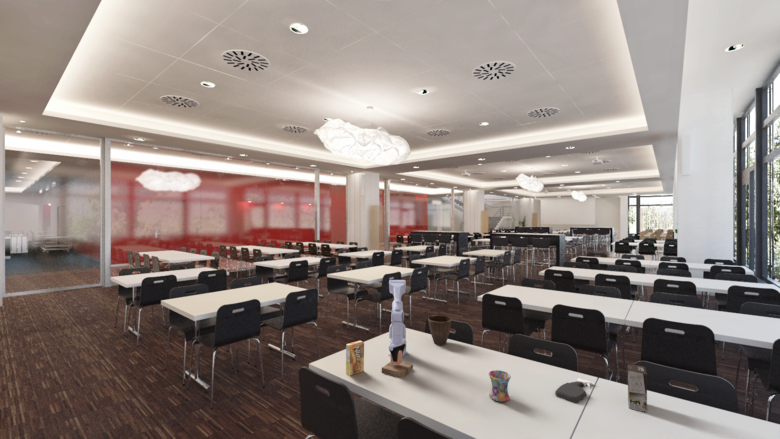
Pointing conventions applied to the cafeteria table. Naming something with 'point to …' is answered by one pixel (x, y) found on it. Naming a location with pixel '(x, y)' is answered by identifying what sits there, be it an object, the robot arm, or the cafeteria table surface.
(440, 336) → the plant pot
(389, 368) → the walnut base
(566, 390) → the spray bottle
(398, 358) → the terracotta block
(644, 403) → the coffee box
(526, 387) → the cafeteria table surface
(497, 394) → the mug
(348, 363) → the candy box
